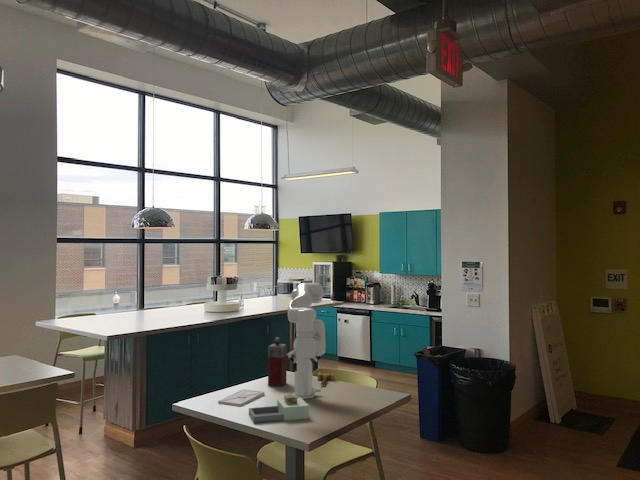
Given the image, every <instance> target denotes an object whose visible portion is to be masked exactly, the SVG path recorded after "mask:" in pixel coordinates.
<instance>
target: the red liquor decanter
mask: <svg viewBox="0 0 640 480" xmlns="http://www.w3.org/2000/svg"><path fill="white" fill-rule="evenodd" d="M267 348H268V349H267V351H268V352H267V353H268V354H267V357H266V360H265V361H266V363H265V364H266V367H265V369H266V370H265V372H266V373H267V386H268V387H280V388H281V387H284V386H285V385H286V384H287V360H288V359H287V356H288V355H287V354H288V352H287V351H288V350H287V344H286V343H281V338H280V337H278V336H276V337H275V339H274V343H272V344H270V345H268V347H267Z"/></svg>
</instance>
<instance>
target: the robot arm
mask: <svg viewBox="0 0 640 480" xmlns="http://www.w3.org/2000/svg"><path fill="white" fill-rule="evenodd" d="M323 295H324V288H323V285H322V284H321V283H319V282H302V283H299V284H298V285H297V287H296V288H295V289H293V290H292V291H291V295H290V296H291V297H290V298H291V300H290V302H289V303H288V307H287V320H288V321H289V323H291V324H295V331H296V335H297V337H295V340H294V341H293V350H291V351H289V352H287V356H288V359H289V360H290V362H292V370H293V371H294V392H292V394H291V395H295V396H296V397H297V398H302V399H303V400H308V399H312V398H315V397H316V393H321V391H322V389H321V388H320V387H319V388H317V387H313V371H317V369H318V362H319V360H320V359H321V357H322V356H323V355H324V354H325V353H326V327H325V323H324V321H323V320H322V319H317V312H316V310H315V308H313V307H311V306H312V304H320V303H321V302H322V299H323V297H324V296H323ZM292 355H293V356H294V357H292ZM311 359H312V360H313V361H312V360H311ZM314 396H315V397H314Z"/></svg>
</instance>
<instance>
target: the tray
mask: <svg viewBox="0 0 640 480" xmlns="http://www.w3.org/2000/svg"><path fill="white" fill-rule="evenodd" d="M248 415H249V418H250V420H251V421H252V423H253V424H262V423H272V422H273V423H274V422H283V421H284V414H279V412H278V406H277V405H271V406H258V407H257V406H256V407H248ZM284 422H285V421H284Z"/></svg>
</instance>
